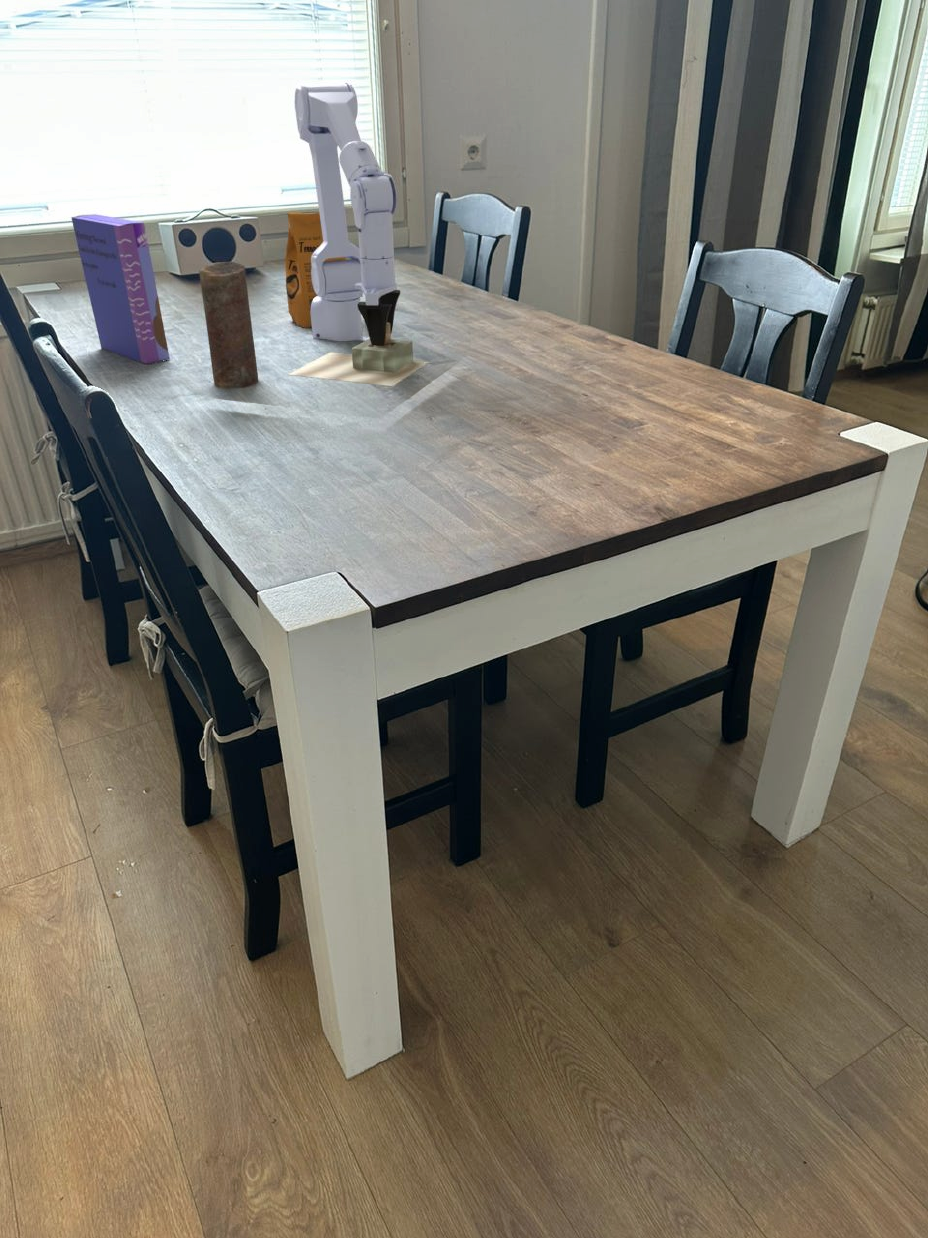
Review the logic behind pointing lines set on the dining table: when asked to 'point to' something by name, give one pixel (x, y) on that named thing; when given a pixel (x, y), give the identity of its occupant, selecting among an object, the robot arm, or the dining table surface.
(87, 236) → the cereal box
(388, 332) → the peg
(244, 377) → the brown faceted post
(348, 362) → the board
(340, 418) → the dining table surface
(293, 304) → the coffee package
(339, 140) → the robot arm
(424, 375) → the dining table surface
